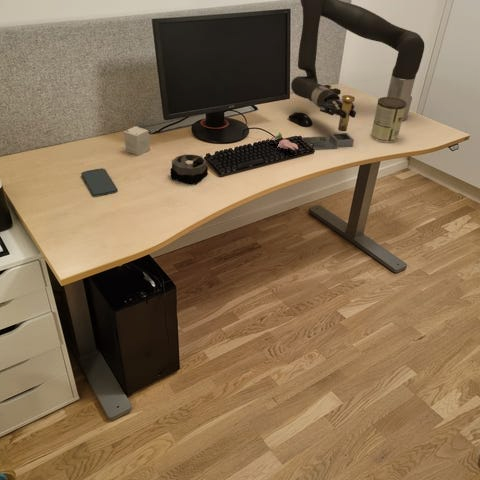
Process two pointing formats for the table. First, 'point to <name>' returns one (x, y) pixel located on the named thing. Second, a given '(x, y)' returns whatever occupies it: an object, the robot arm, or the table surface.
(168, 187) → the table surface
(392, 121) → the coffee can
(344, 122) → the hinge pin
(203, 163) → the cpu cooler
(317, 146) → the grey tray fixture
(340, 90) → the end cap
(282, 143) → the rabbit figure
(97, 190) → the smartphone
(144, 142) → the skincare box
